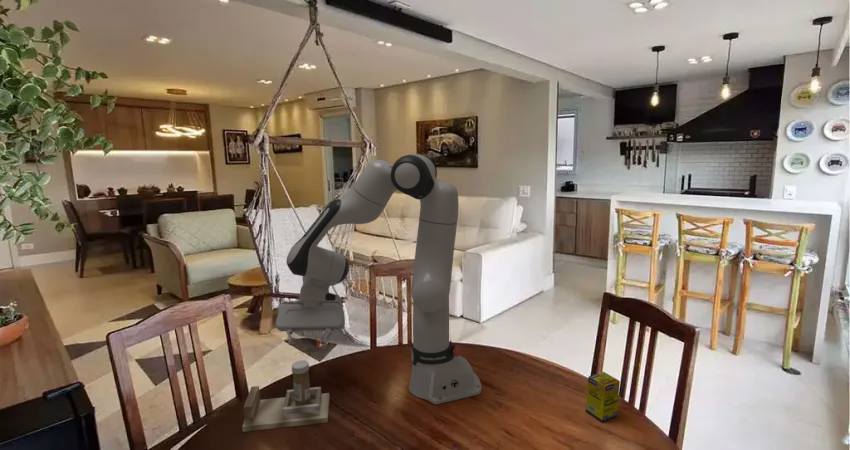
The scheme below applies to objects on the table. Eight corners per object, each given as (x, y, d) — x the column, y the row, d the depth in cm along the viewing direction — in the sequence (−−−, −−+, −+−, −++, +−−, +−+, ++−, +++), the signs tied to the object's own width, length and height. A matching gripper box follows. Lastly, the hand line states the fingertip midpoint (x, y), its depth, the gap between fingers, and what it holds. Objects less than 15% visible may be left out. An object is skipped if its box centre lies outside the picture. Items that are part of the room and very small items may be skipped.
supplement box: (602, 423, 118) (605, 386, 116) (585, 411, 123) (587, 375, 121) (617, 416, 121) (620, 380, 119) (600, 405, 126) (602, 370, 124)
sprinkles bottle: (313, 408, 123) (310, 364, 121) (297, 414, 121) (294, 369, 118) (308, 400, 127) (305, 358, 124) (292, 406, 124) (289, 362, 122)
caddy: (329, 397, 131) (328, 377, 130) (327, 422, 120) (326, 400, 118) (252, 405, 128) (250, 384, 126) (242, 431, 116) (240, 409, 115)
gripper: (277, 296, 133) (268, 341, 126) (344, 295, 133) (340, 340, 126) (283, 305, 139) (275, 348, 131) (347, 304, 139) (343, 347, 131)
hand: (307, 344), depth 128 cm, fingers open, 8 cm apart
